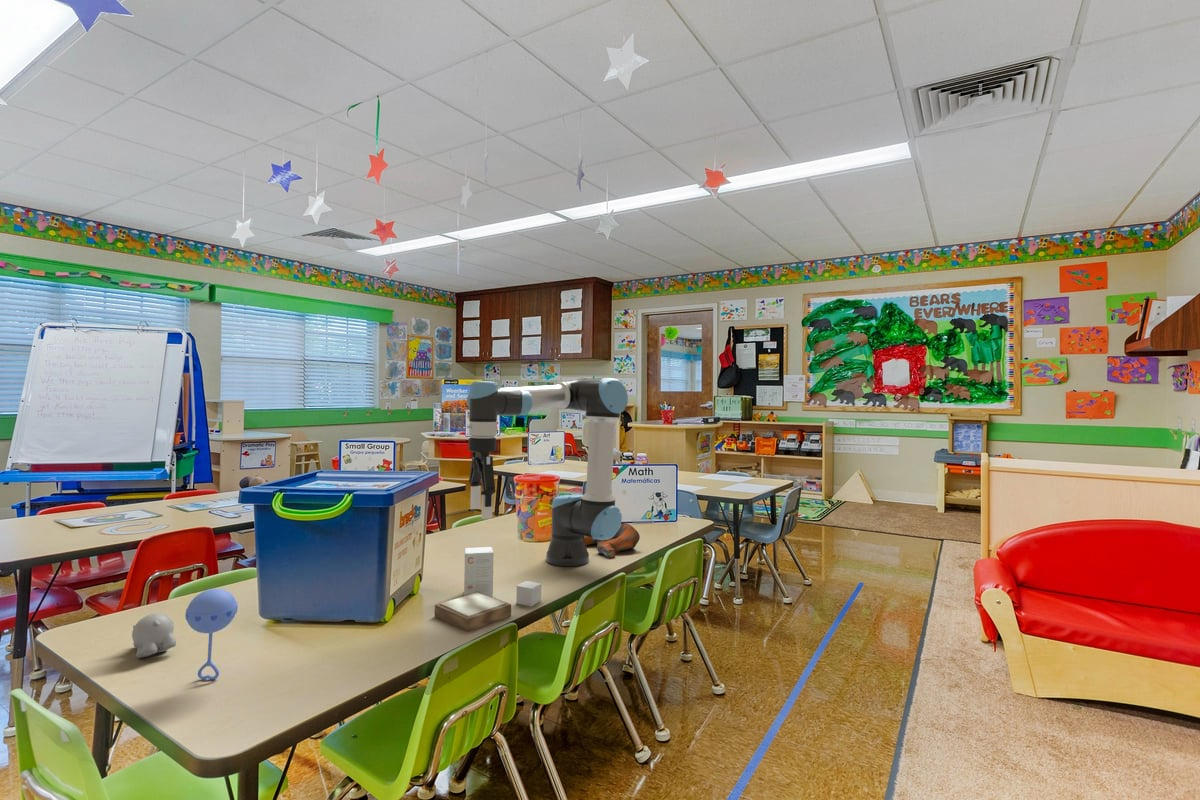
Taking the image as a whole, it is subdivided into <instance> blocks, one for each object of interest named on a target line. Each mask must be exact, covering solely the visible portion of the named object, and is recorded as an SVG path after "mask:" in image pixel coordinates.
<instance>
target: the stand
mask: <svg viewBox="0 0 1200 800" xmlns="http://www.w3.org/2000/svg"><path fill="white" fill-rule="evenodd" d="M511 616H512V604H511V603H509V602H507V601H503V600H502V599H498V598H496V597H494V596H493V597H491V596H488V595H486V594H483V593H481V592H475V593H472V594H468V595H465V596H464V595H462V596H460V597H455V598H452V599H449V600H447V601H442V602H439V603H436V604H434V617H435V618H437V619H439V620H442V621H444V622H447V623H448V624H450V625H452V626H454V627H457V628H459V629H461V630H463V631H466V632H469V631H472V630H475V629H478V628H481V627H483V626H486V625H489V624H491V623H495V622H497V621H500V620H503V619H507V618H508V617H511Z"/></svg>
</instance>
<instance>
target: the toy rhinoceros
mask: <svg viewBox="0 0 1200 800" xmlns="http://www.w3.org/2000/svg"><path fill="white" fill-rule="evenodd" d="M132 628H133V629H132V631H131V637H132V641H133V643H132V644H133V647H134V648H135V649H136V653H135V654H136V658H137V659H143V658H147V657H150V656H152V655H154V654H155V655H156V654H160V653H163V652H167V651H168V650H169V649H171V648H174V647H175V646H176V645H177V640H176V638H175V636H174V635H173V633H174V630H175V623H174V621H173V620H172V618H171V617H170V616H169V615H167V614H166V613H159V612H157V613H156V612H155V613H151V614H148V615H146V616H143V617H142V618H141V619H139V620H138V621H137V622H136V624H134V625H133V626H132Z"/></svg>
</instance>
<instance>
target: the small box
mask: <svg viewBox="0 0 1200 800" xmlns="http://www.w3.org/2000/svg"><path fill="white" fill-rule="evenodd" d="M463 581H464V584H463V585H464V591H463V593H464V595H463V596H465V595H468V594H472V593H475V592H481V593H483V594H486V595H488V596H491V597H494V551H493V547H492V546H483V547H481V546H480V547H464V580H463Z"/></svg>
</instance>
